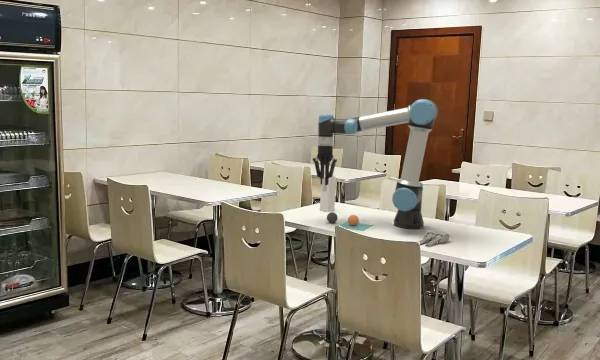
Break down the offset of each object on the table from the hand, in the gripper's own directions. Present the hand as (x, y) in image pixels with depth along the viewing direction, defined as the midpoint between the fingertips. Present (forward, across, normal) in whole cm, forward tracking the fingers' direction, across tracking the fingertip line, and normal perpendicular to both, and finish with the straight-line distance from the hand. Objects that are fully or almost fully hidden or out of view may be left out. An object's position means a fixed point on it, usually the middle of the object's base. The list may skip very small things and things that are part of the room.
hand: (324, 191), depth 301 cm
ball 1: (+13, +5, 0) cm, 14 cm away
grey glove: (+18, +59, -11) cm, 62 cm away
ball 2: (+14, +16, 0) cm, 21 cm away
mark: (+16, +17, 0) cm, 24 cm away
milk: (+16, -10, +29) cm, 34 cm away
